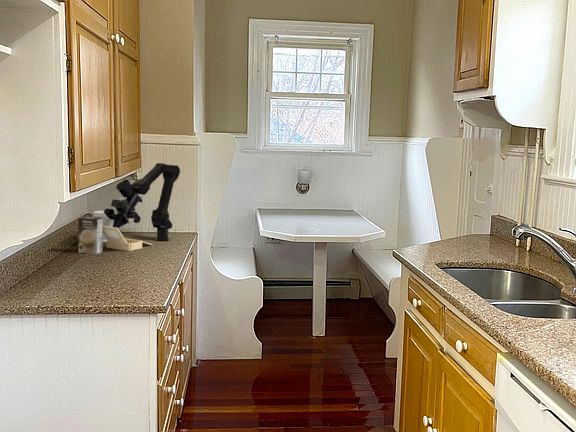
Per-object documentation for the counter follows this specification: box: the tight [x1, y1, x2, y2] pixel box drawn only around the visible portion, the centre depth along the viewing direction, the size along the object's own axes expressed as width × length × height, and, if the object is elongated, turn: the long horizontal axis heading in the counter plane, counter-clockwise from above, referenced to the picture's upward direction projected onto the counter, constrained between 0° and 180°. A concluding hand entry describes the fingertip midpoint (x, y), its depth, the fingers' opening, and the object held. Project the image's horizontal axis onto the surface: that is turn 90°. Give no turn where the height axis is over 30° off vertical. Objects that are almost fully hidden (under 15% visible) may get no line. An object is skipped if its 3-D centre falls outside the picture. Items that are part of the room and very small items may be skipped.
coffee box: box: [78, 215, 103, 255], centre depth 272 cm, size 9×6×16 cm
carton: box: [106, 237, 154, 252], centre depth 288 cm, size 18×15×4 cm
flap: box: [102, 226, 127, 243], centre depth 277 cm, size 10×12×1 cm
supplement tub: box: [92, 210, 114, 243], centre depth 300 cm, size 10×10×15 cm
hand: (113, 229), depth 277 cm, fingers closed
